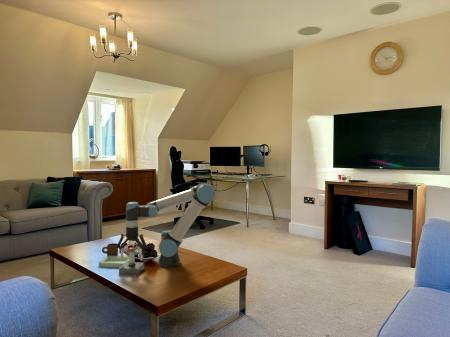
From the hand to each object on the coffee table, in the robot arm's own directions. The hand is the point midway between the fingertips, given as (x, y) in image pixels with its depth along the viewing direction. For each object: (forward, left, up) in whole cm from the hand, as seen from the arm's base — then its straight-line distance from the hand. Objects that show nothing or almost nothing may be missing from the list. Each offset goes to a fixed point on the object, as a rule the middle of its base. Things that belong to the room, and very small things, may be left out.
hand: (131, 259), depth 199 cm
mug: (+26, -23, -8) cm, 36 cm away
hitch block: (0, 0, -8) cm, 8 cm away
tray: (+16, -12, -8) cm, 22 cm away
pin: (0, 0, -8) cm, 8 cm away
